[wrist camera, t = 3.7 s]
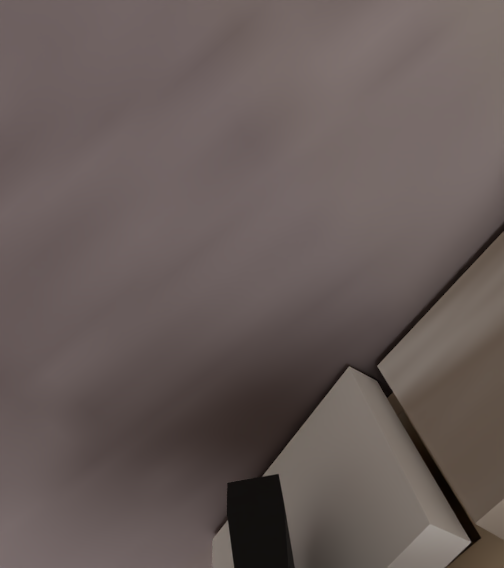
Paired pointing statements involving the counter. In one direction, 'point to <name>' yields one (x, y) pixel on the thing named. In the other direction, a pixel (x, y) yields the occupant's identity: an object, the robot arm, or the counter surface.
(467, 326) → the beige rectangular block
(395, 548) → the door
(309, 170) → the counter surface
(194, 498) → the counter surface
